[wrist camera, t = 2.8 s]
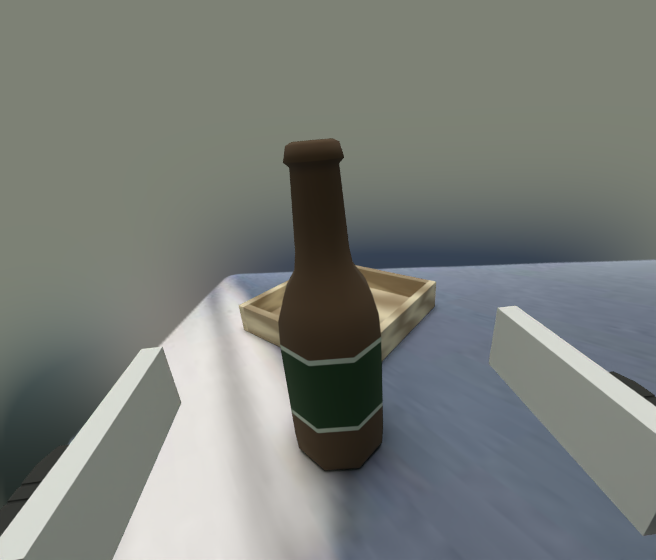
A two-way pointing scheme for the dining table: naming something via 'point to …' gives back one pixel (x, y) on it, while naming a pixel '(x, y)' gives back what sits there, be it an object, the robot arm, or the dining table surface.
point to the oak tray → (389, 295)
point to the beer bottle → (328, 320)
